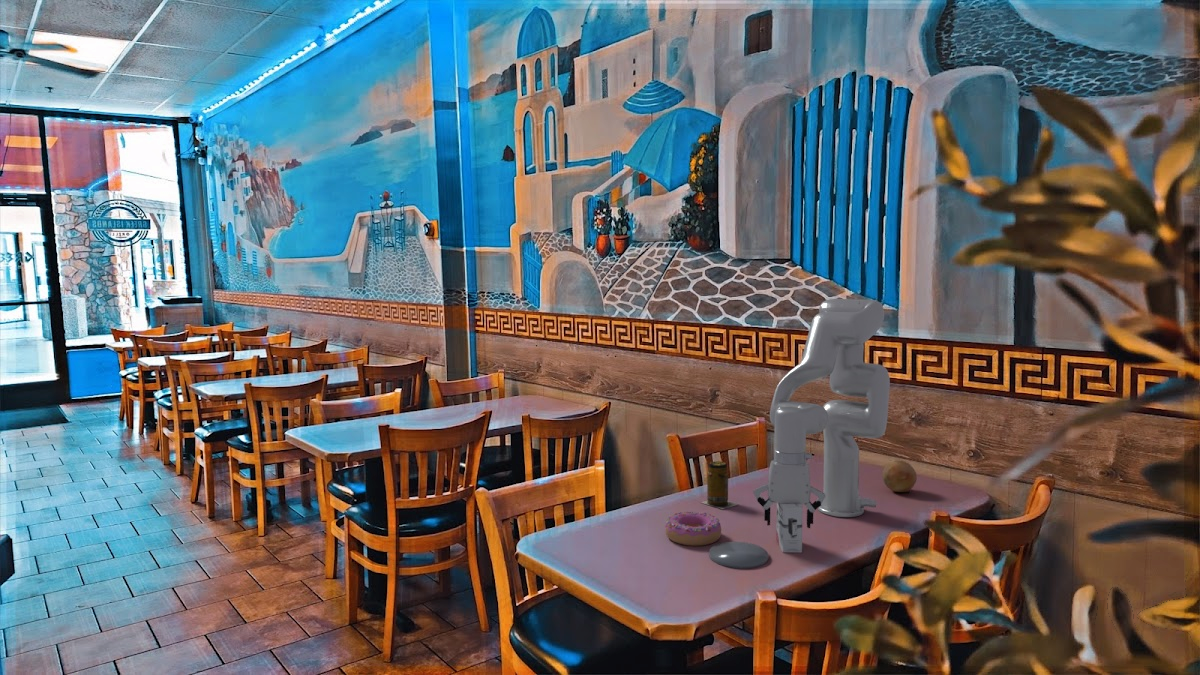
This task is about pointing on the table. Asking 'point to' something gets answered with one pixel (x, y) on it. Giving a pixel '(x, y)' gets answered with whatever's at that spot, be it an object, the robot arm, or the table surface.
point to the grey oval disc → (738, 555)
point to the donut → (693, 528)
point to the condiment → (718, 486)
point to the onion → (899, 476)
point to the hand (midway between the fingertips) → (788, 525)
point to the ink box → (789, 527)
